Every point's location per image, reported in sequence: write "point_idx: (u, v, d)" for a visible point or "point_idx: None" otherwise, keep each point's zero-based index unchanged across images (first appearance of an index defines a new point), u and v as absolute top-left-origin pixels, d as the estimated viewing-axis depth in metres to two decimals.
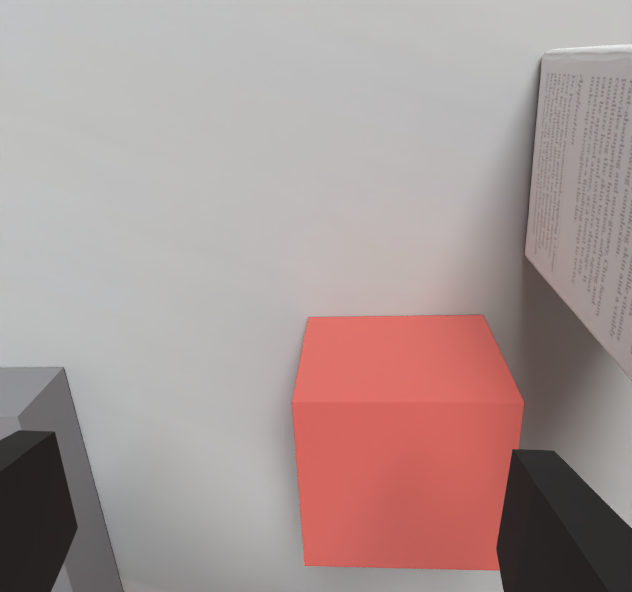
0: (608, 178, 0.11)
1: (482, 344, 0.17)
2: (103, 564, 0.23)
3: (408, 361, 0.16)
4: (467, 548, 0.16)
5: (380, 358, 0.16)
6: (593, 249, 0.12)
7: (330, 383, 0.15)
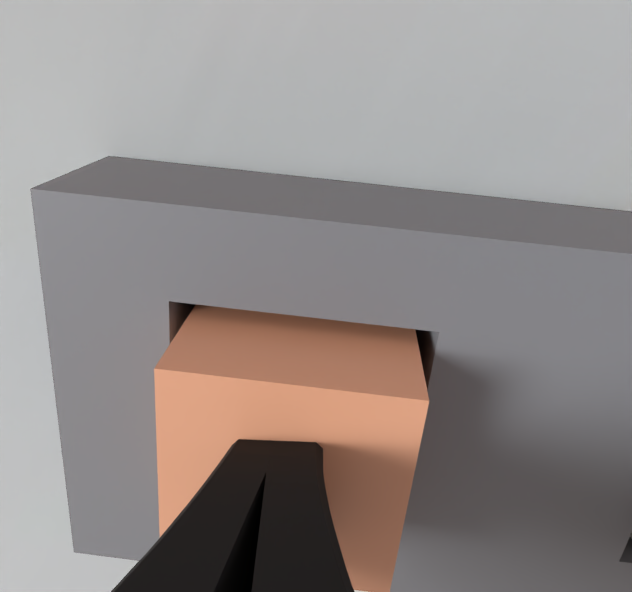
0: None
1: None
2: (556, 213, 0.11)
3: None
4: None
5: None
6: None
7: None
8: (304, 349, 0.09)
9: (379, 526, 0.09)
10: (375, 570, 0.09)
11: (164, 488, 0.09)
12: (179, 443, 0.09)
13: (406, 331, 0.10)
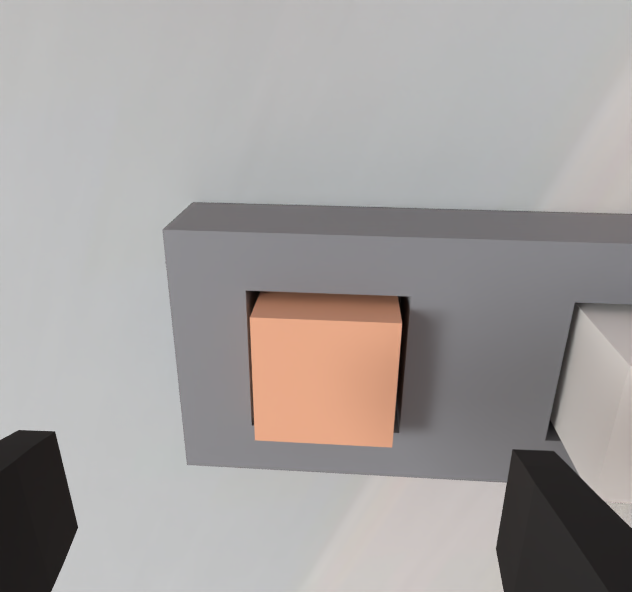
0: None
1: None
2: (483, 217, 0.17)
3: None
4: None
5: None
6: None
7: None
8: (331, 303, 0.16)
9: (382, 403, 0.16)
10: (382, 432, 0.16)
11: (256, 389, 0.16)
12: (264, 360, 0.15)
13: None
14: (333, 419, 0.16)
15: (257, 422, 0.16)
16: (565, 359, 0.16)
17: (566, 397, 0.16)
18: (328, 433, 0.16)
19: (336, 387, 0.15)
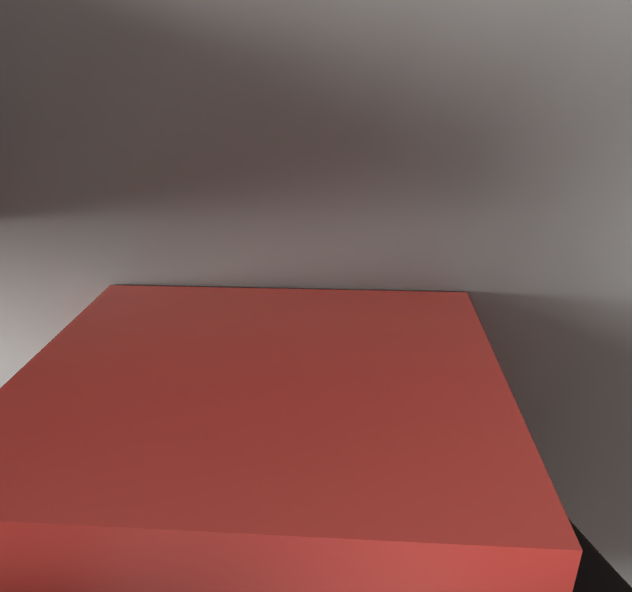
0: None
1: None
2: None
3: None
4: None
5: None
6: None
7: None
8: None
9: None
10: None
11: None
12: None
13: None
14: None
15: None
16: None
17: None
18: None
19: None
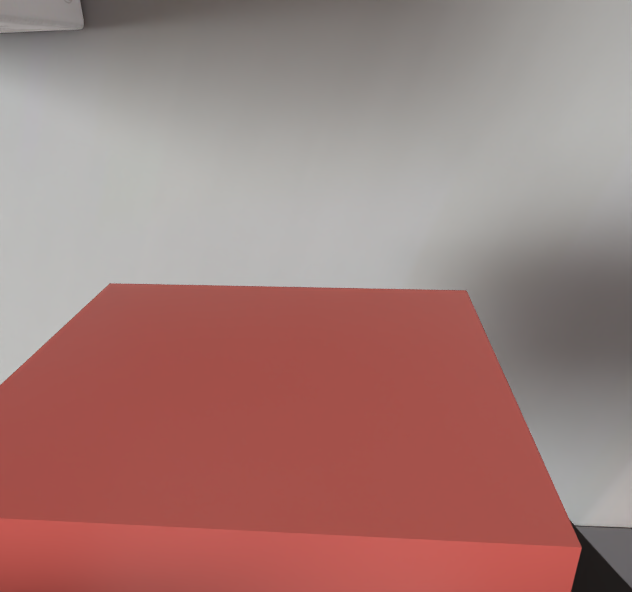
0: None
1: None
2: None
3: None
4: None
5: None
6: None
7: None
8: None
9: None
10: None
11: None
12: None
13: None
14: None
15: None
16: None
17: None
18: None
19: None
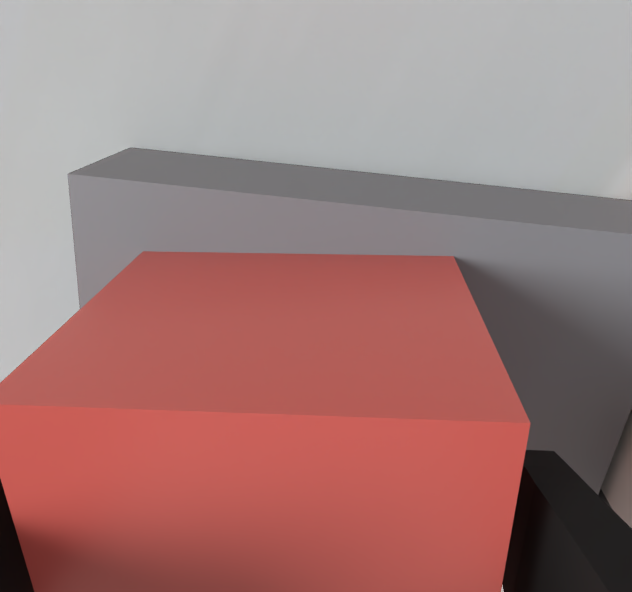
0: None
1: None
2: (534, 197, 0.12)
3: None
4: (437, 502, 0.06)
5: None
6: None
7: None
8: None
9: None
10: None
11: None
12: None
13: None
14: None
15: None
16: None
17: (630, 458, 0.12)
18: None
19: None
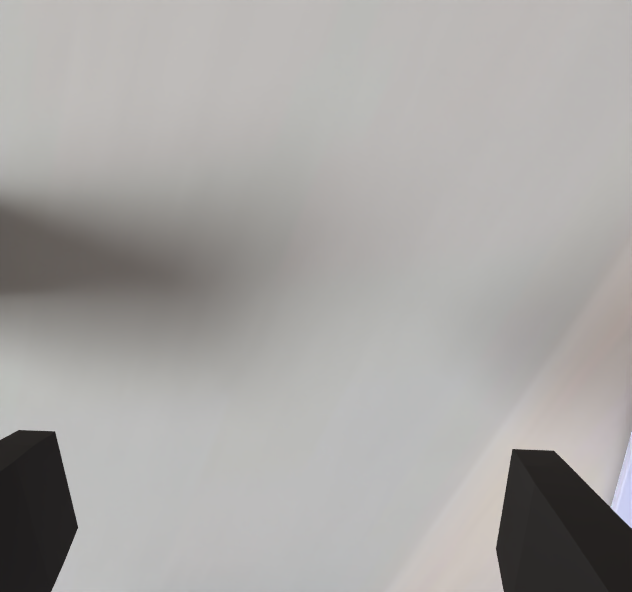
0: None
1: None
2: None
3: None
4: None
5: None
6: None
7: None
8: None
9: None
10: None
11: None
12: None
13: None
14: None
15: None
16: None
17: None
18: None
19: None
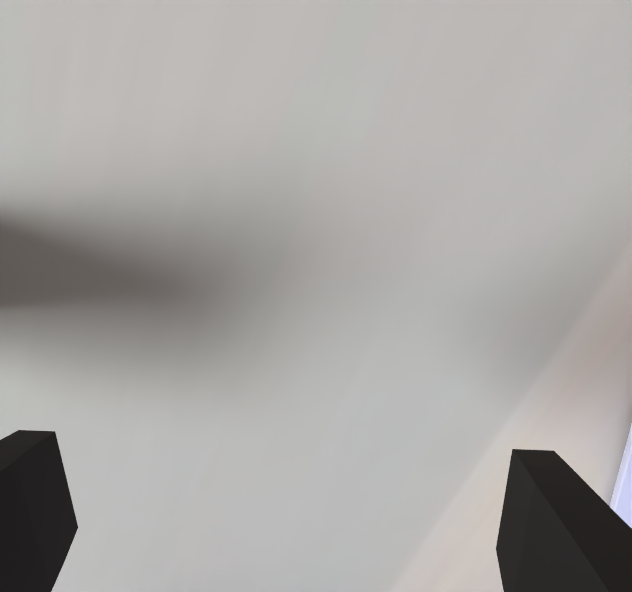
0: None
1: None
2: None
3: None
4: None
5: None
6: None
7: None
8: None
9: None
10: None
11: None
12: None
13: None
14: None
15: None
16: None
17: None
18: None
19: None
